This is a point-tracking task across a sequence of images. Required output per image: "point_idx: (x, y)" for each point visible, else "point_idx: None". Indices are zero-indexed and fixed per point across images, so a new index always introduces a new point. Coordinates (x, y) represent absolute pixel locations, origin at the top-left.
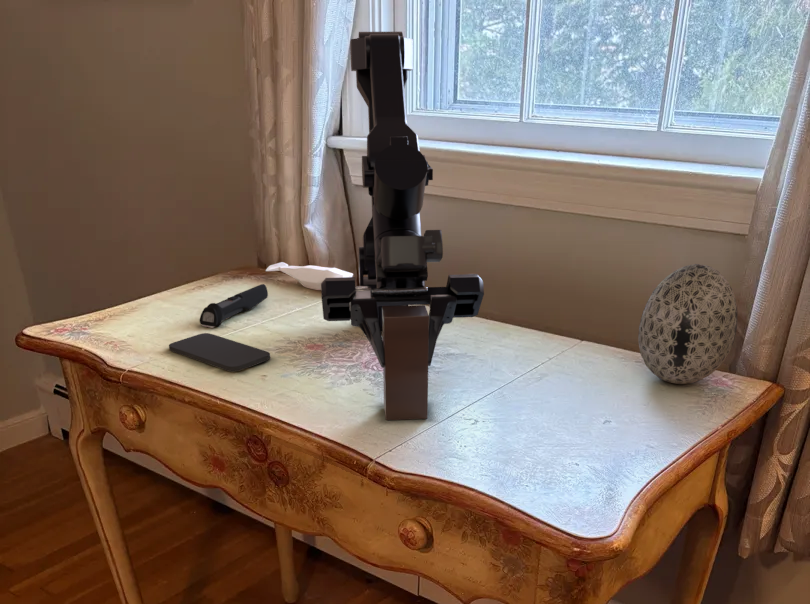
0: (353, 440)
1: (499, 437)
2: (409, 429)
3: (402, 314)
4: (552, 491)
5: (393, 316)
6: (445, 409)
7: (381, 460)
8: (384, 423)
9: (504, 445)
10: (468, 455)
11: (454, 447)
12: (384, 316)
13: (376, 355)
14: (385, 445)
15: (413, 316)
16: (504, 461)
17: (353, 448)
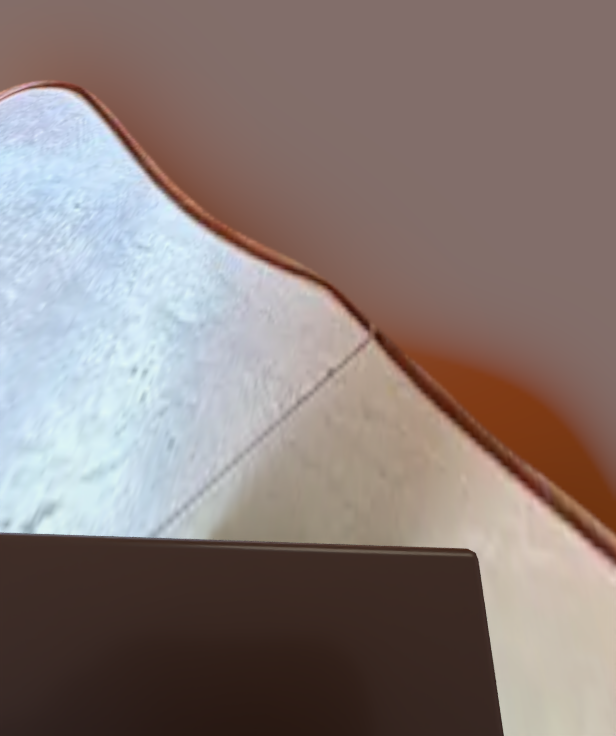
0: (428, 443)
1: (17, 407)
2: (261, 494)
3: (210, 654)
4: (39, 185)
5: (354, 562)
6: None
7: (354, 332)
8: None
9: (29, 362)
10: (143, 327)
11: (163, 369)
12: (479, 591)
13: None
14: (341, 403)
15: (75, 540)
16: (71, 291)
17: (424, 397)
